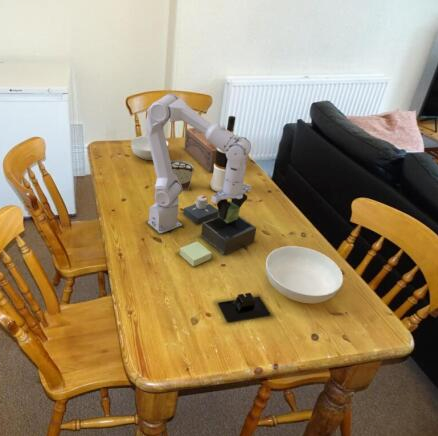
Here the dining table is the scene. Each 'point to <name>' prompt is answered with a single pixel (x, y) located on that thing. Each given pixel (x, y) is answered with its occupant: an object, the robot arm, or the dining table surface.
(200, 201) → the dial knob
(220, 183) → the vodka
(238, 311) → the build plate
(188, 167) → the food container
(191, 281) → the dining table surface
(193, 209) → the rotary dial base
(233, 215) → the cube
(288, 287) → the serving bowl
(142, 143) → the cereal bowl
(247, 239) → the black storage bin
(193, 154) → the tissue box cover
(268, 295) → the dining table surface
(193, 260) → the mint block
